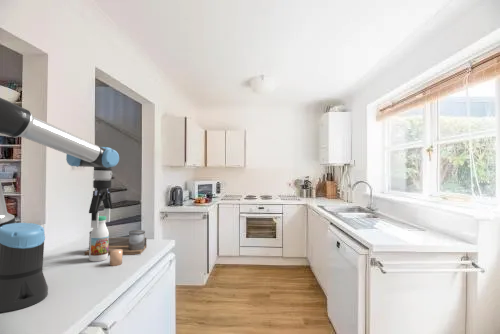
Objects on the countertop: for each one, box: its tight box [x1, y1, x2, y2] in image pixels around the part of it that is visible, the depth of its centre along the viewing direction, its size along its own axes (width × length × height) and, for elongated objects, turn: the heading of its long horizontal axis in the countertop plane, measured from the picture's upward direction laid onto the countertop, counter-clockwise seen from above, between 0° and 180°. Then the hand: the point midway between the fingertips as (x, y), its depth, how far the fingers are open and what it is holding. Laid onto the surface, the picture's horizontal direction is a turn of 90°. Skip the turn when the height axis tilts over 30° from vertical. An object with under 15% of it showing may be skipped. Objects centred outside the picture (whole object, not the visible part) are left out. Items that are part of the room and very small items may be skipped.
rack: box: [84, 229, 148, 256], centre depth 137 cm, size 13×27×10 cm, turn 98°
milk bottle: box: [88, 215, 110, 263], centre depth 124 cm, size 8×8×20 cm
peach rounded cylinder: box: [109, 249, 123, 267], centre depth 118 cm, size 5×5×6 cm
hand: (100, 224), depth 124 cm, fingers open, 13 cm apart
